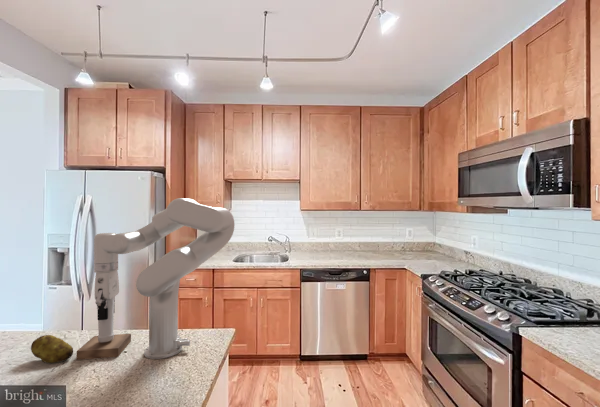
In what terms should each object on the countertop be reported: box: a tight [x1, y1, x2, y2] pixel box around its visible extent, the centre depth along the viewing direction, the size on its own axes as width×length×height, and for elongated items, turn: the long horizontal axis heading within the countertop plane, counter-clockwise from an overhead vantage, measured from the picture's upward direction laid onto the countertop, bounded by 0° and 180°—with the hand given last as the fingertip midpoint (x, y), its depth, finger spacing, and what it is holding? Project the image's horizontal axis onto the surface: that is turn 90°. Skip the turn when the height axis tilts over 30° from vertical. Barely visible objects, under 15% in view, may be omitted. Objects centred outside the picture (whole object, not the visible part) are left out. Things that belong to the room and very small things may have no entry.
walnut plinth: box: [76, 333, 132, 361], centre depth 115 cm, size 13×13×3 cm
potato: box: [30, 334, 74, 364], centre depth 108 cm, size 8×13×8 cm, turn 67°
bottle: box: [97, 297, 115, 342], centre depth 115 cm, size 5×5×25 cm
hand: (106, 316), depth 115 cm, fingers closed on bottle, 5 cm apart
